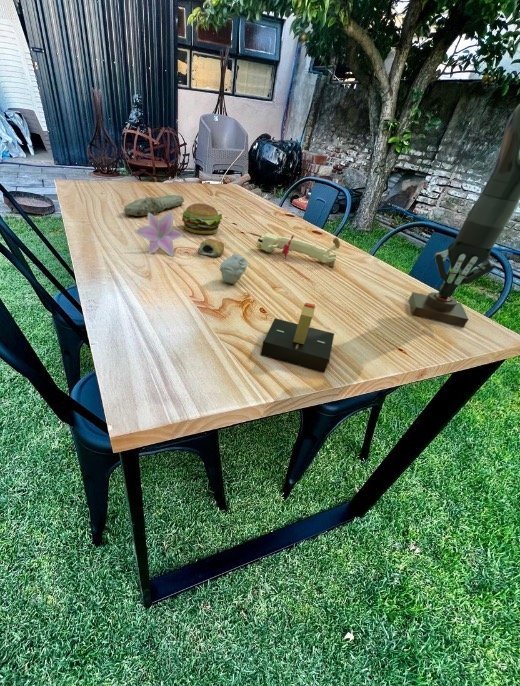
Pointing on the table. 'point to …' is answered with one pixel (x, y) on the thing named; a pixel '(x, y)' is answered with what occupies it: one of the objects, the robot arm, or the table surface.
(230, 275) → the frog figurine
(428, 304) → the brown base
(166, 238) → the lily
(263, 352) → the plate
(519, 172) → the robot arm
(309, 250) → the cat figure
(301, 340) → the lock knob
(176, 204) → the elongated rock
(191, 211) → the food
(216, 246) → the pastry
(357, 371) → the table surface
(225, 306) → the table surface
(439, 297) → the bell button
